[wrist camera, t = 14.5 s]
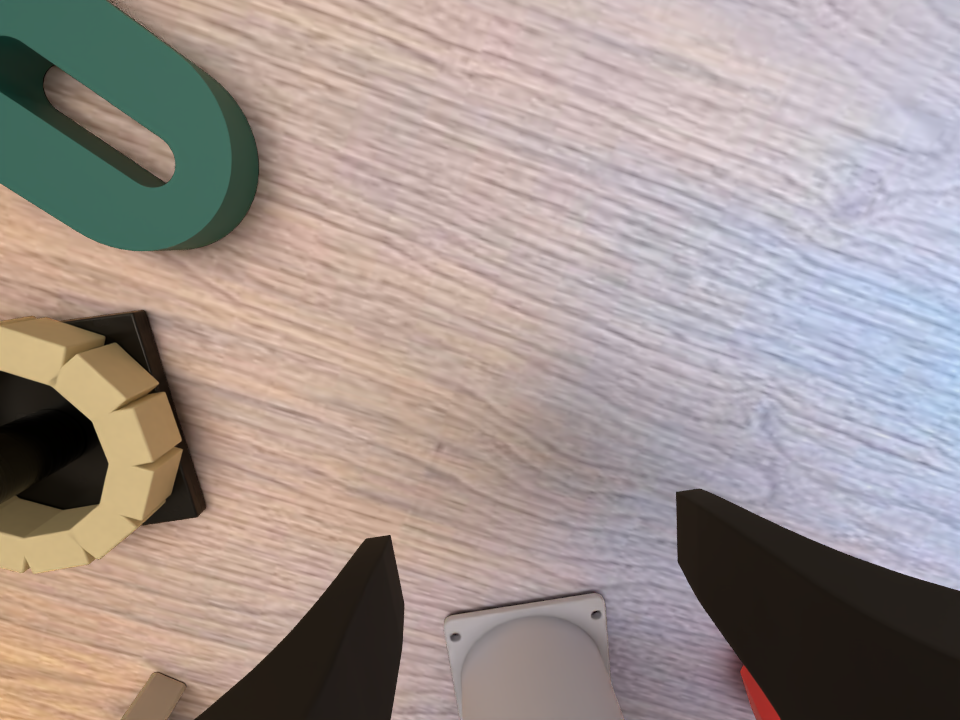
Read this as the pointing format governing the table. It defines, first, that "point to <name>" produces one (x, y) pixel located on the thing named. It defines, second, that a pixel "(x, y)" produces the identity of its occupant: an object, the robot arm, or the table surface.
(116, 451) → the tan segmented ring
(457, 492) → the table surface
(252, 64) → the table surface
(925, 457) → the table surface
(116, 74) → the bracket
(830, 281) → the table surface
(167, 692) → the lighter
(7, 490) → the post
